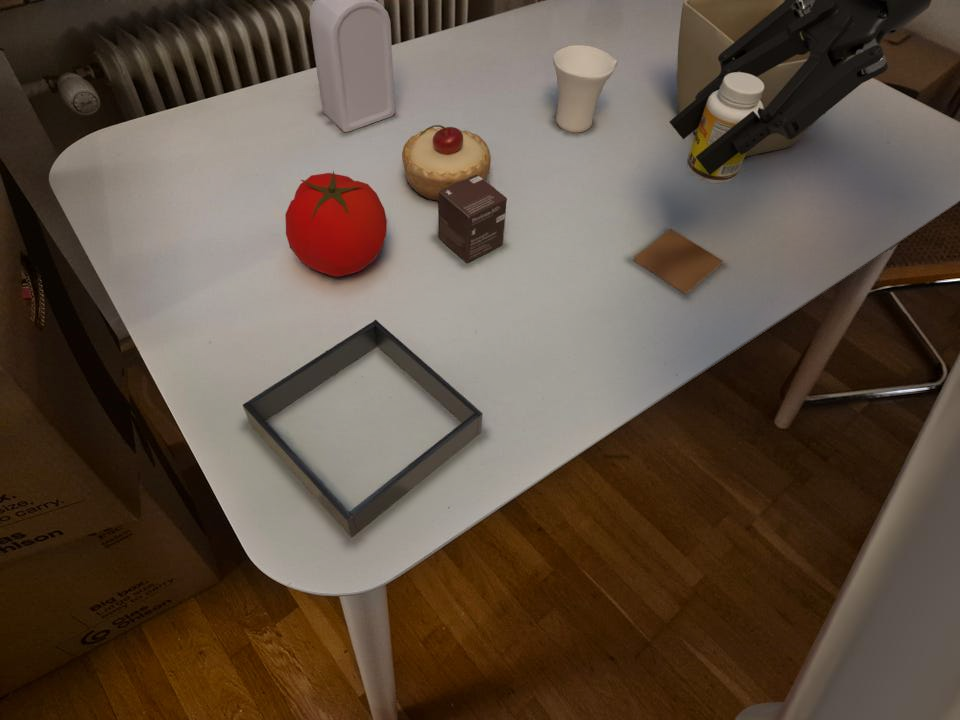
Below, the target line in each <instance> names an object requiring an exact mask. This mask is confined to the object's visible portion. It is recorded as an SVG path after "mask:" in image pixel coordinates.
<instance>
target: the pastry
mask: <svg viewBox="0 0 960 720" xmlns="http://www.w3.org/2000/svg"><path fill="white" fill-rule="evenodd" d="M401 159H402V164H403V169H404V173H405V177H406V178H407V181H408V183H409V185H410V186H411V188H412V189H413V190H414V191H415V192H417V193H418V194H419V195H420V196H421V197H423V198H426V199H429V200H432V201H438V198H439V191H440V190H442V189H444V188H447V187H449V186H451V185H453V184H454V183H456V182H458V181H462V180H465V179H467V178H469V177H472V176H474V175H478V176H480V177H481V178H482V179H484V180H485V181H486V179H487V177H488V176H489V173H490V169H491V164H492V157H491V152H490V148H489V147H488V143H486V141H485V140H484V139H483V138H482V137H481V136H479V135H478V134H477V133H472V132H470V131H468V130H461V129H459V128H458V127H454V126H444V125H441V124H434V125H430V126H429V127H427V128H426V129H424V130H420V131H419V132H418V133H417V134H415V135H411V136H410V137H409V139H408V140H407V141H406V142H405V143H404V145H403V148H402V153H401Z"/></svg>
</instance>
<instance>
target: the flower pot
mask: <svg viewBox="0 0 960 720" xmlns="http://www.w3.org/2000/svg"><path fill="white" fill-rule="evenodd" d="M784 1H785V0H683V2H682V8H681V13H680V23H679V31H678V44H677V61H676V62H677V68H676V69H677V70H676V81H677V82H676V83H677V85H676V86H677V103H678V111H679V112H678V114H679V113H680V112H681V111H682V110H684V109H685V108H686V107H687V106H688V105H690V104H691V103H692V102H693V101H694V100H696V98H695V97H696V95H697V94H698V93H699V92H700V91H701V90H702V89H703V88H705V87H706V86H707V85H708V84H709V83H711V82H712V81H713V80H714V79H715V78H716V77H718V76H719V74H720V73H721V65H720V62H719V61H718V57H719V55H720V54H721V53H722V52H723V51H725V50H726V49H727V48H728V47H729V46H731V45H732V44H733V43H734V42H736V41H737V40H738V39H739V38H741V37H742V36H743V35H744V34H745V33H747V32H748V31H749V30H750V29H752V28H753V27H754V26H755V25H756V24H758V23H759V22H760V21H761V20H763V19H764V18H765V17H766V16H768V15H769V14H770V13H771V12H772V11H774V10H775V9H776V8H777V7H779V6H780V5H781V4H782V3H783V2H784ZM801 33H802V32H800V35H801V37H802V39H803V40H804V38H803V36H802V34H801ZM810 52H811V51H810ZM810 52H808V53H806V54H804V55H795V56H793V57H791V58H790V59H788V60H786V61H784V62H783V63H781V64H779V65H777V66H775V67H774V68H772V69H770V70H768V71H766V72H765V73H763V74H761V75H759V76H758V77H757V78H759V79H760V80H761V81H762V82H763V84H764V90H763V93H762V95H761V99H760V101H761V102H762V104H763V108H764V109H765V108H766V107H767V106H768V105H769V103H770V102H771V101H772V100H773V99H774V98H775V96H776V95H777V94H778V93H779V92H780V91H781V90H782V88H783V87H784V86H785V85H786V84H787V83H788V81H789V80H790V79H791V78H792V77H793V76H794V74H795V73H796V72H797V71H798V70H799V69H800V67H801V66H802V65H803V64H804V63H805V62H806V60H807V59H808V58H809V56H810ZM854 56H855V55H853V56H849V57H848V58H847V59H846V60H845V61H844V63H845V62H846V61H847V60H849V59H850V58H852V57H854ZM733 60H734V58H733ZM739 72H740V71H739ZM819 119H820V118H818V119H817V120H816V121H815V122H813V123H812V124H811V125H810V126H808V127H807V128H806V129H805V130H804V131H802V132H801V133H800V134H799V135H797V136H796V137H795V138H793V139H791V140H787V139H786V138H785V137H784V136H782V135H780V134H777V133H775V134H770V135H769V136H767V137H766V138H765V139H763V140H762V141H761V142H759V143H758V144H757V145H755V146H754V147H753V148H751V149H750V150H749V151H748V152H747V153H746V155H745V157H746V158H747V157H749V156H754V155H759V154H765V153H770V152H773V151H778V150H783V149H787V148H789V147H791V146H792V145H793V144H794V143H796V142H797V141H798V140H799V139H800V138H801V137H802V136H803V135H804V134H805V133H806V132H807V131H808V130H809V129H811V128H812V127H813V125H814V124H815V123H816V122H817V121H818V120H819ZM697 130H698V128H697V129H696V130H695V131H693V132H694V133H695V134H696V132H697ZM745 157H744V158H745Z"/></svg>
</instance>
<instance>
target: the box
mask: <svg viewBox="0 0 960 720" xmlns="http://www.w3.org/2000/svg"><path fill="white" fill-rule="evenodd" d="M507 202H508V198H507V197H506V196H505V195H504V194H503V193H501V191H499V190H498V189H496V188H495V187H494V186H492V185H491V184H490V183H489V182H488V181H486V180H484V179H482V178H481V177H480V176H478V175H474V176H472V177H469V178H467V179H465V180H462V181H458V182H456V183H454V184H453V185H451V186H449V187H447V188H444V189H442V190H440V191H439V198H438V202H437V203H438V210H437V211H438V216H437V217H438V218H437V223H438V225H437V227H438V228H437V238H438V239H439V240H441V241H442V242H443V243H444V244H445V245H446V246H448V247H449V248H450V250H452V251H453V252H454V253H455V254H456V255H458V256H459V257H460V258H461V259H462V260H463V261H464V262H465V263H470V262H472V261H473V260H475V259H476V260H477V259H478V258H480V257H482V256H484V255H486V254H488V253H490V252H492V251H493V250H496V248H500V247H501V246H503V245H504V235H505V224H506V214H507Z"/></svg>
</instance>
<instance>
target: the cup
mask: <svg viewBox="0 0 960 720" xmlns="http://www.w3.org/2000/svg"><path fill="white" fill-rule="evenodd" d="M552 62H553V66H554V69H555V73H556V85H557V91H558V94H557V95H558V96H557V97H558V99H557V108H556V109H557V110H556V116H555V122H556V124H557V126H559V128H560V129H562V130H563V131H566V132H568V133H574V134H575V133H583V132H586V131H588V130H589V129H590V128H591V127H592V126H593V120H594V115H595V111H596V110H595V109H596V106H597V103H598V100H599V97H600V94H601V93H602V91H603V88H604V86H605V84H606V83H607V82H608V80H609V79H610V78H611V76H612V75H613V74H614V72H615V69H616V68H617V66H618V64H619V62H618V59H617V58H613V57H612V55H610V54H609V53H607V52H606V51H605V50H602V49H600V48H597V47H594V46H589V45H583V44H582V45H581V44H580V45H579V44H575V45H569V46H565V47H562V48H560V49H558V50H557V51H555V53H554V55H553V56H552Z"/></svg>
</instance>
